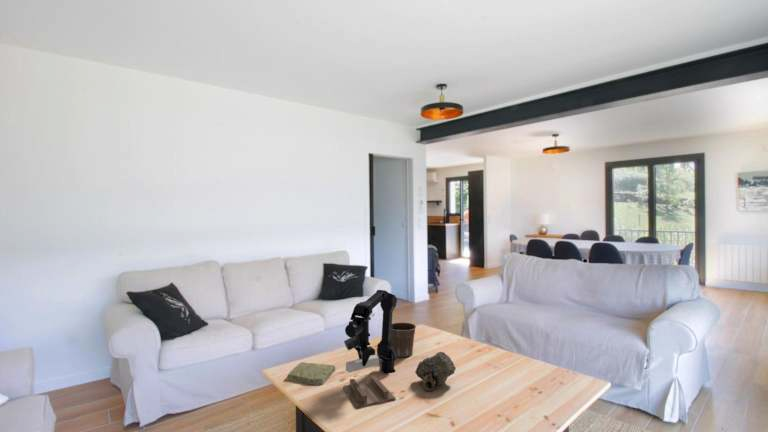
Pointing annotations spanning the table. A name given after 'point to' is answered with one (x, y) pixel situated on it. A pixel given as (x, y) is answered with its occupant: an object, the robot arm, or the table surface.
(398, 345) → the plant pot
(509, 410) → the table surface
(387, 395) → the walnut rack
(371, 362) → the light gray rectangular bar
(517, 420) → the table surface
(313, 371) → the decorative tile
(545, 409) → the table surface
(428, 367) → the rock
